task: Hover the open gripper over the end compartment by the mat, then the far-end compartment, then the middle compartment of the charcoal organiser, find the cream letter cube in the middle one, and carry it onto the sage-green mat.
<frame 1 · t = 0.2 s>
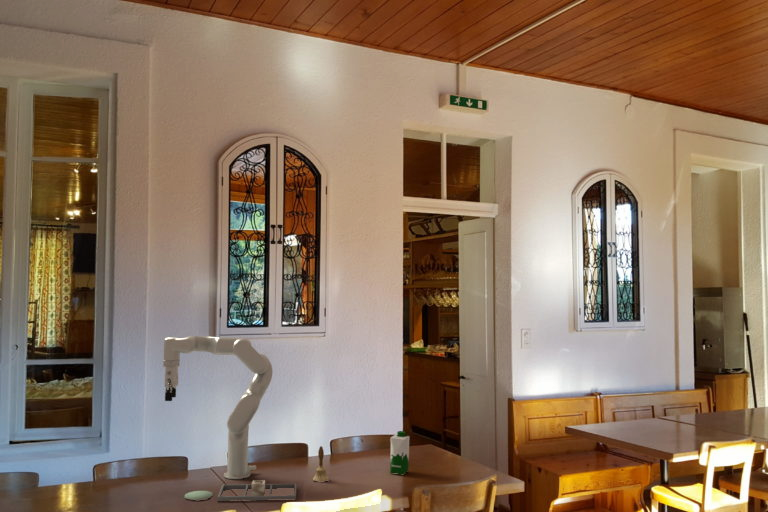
hand: (170, 399, 334), 37 cm above the table, tool pointing down, fingers open, 9 cm apart
milk carton: (399, 473, 348), on the table
hand bell: (320, 480, 333), on the table
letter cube: (258, 494, 307), resting on organiser
mat: (198, 496, 305), on the table
organiser: (258, 495, 307), on the table
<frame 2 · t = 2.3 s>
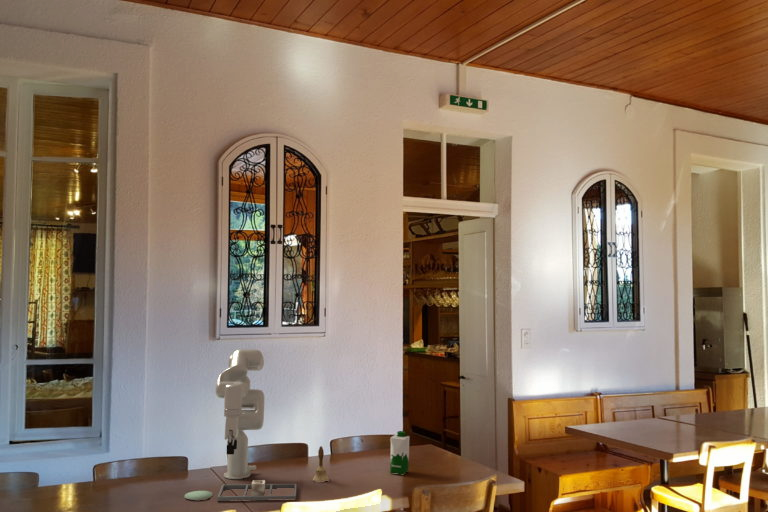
hand: (231, 451, 307), 19 cm above the table, tool pointing down, fingers open, 9 cm apart
nothing on the table moved.
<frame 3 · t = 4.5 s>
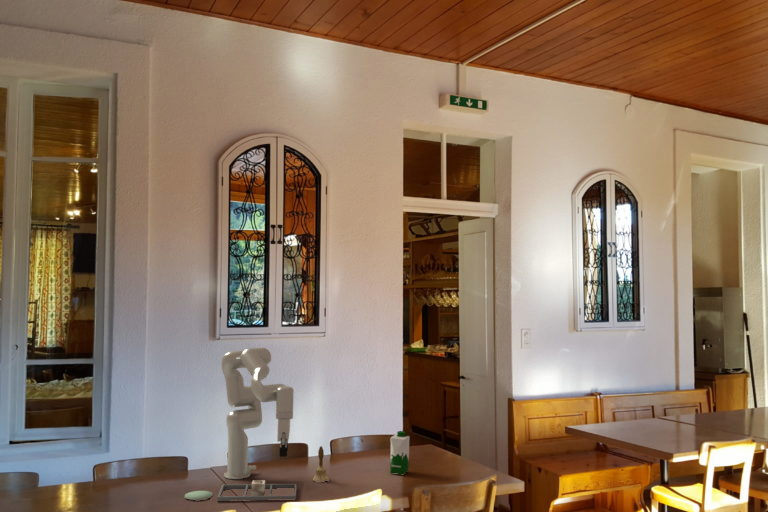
hand: (283, 453, 309), 18 cm above the table, tool pointing down, fingers open, 9 cm apart
nothing on the table moved.
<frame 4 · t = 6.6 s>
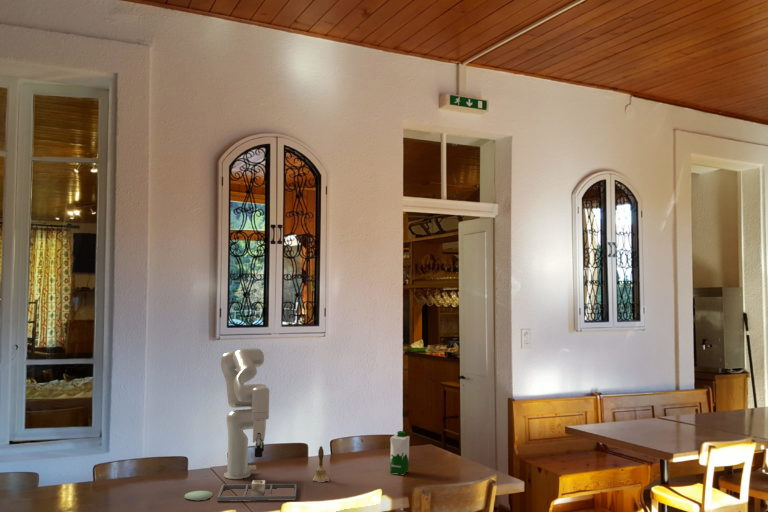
hand: (259, 454, 308), 18 cm above the table, tool pointing down, fingers open, 9 cm apart
nothing on the table moved.
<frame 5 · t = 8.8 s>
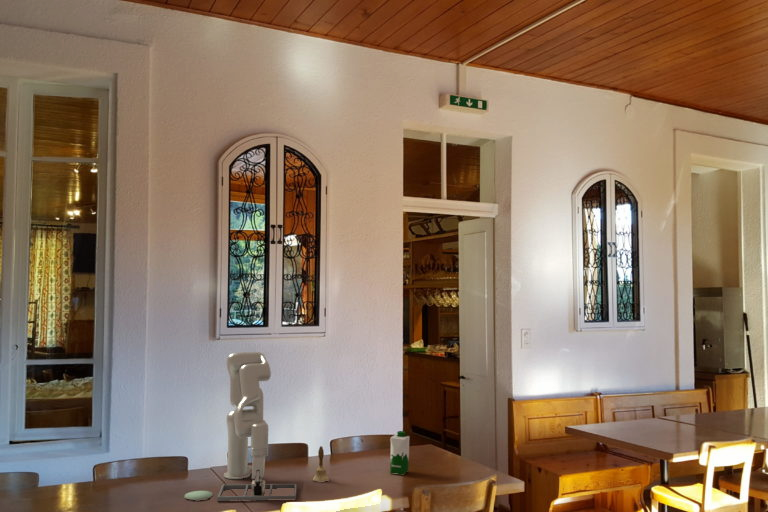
hand: (258, 492, 308), 2 cm above the table, tool pointing down, fingers closed on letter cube, 5 cm apart
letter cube: (258, 494, 307), resting on organiser, touching gripper
everything else where it was.
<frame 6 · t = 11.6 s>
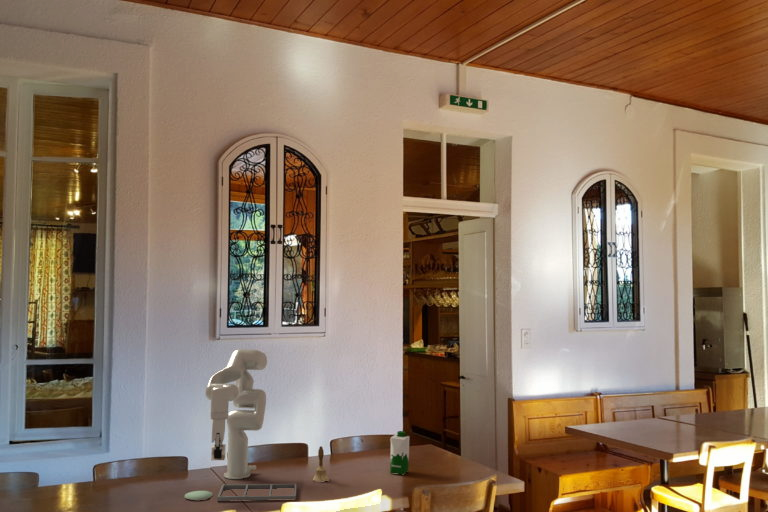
hand: (218, 456, 306), 18 cm above the table, tool pointing down, fingers closed on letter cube, 5 cm apart
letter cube: (218, 458, 306), point 16 cm above the table, touching gripper
everything else where it was.
when the fingers open (3 cm above the table, at t = 14.4 s): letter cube drops 1 cm, resting on mat.
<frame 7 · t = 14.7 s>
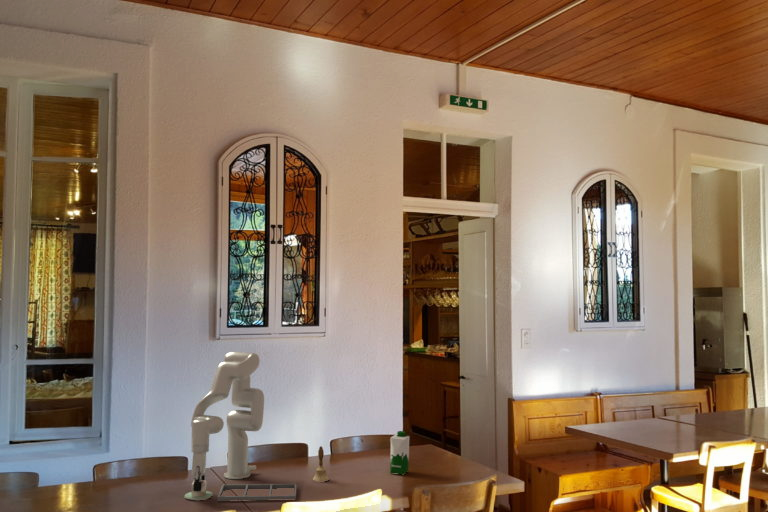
hand: (199, 487, 305), 4 cm above the table, tool pointing down, fingers open, 9 cm apart
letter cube: (198, 494, 305), point 1 cm above the table, touching mat
everything else where it was.
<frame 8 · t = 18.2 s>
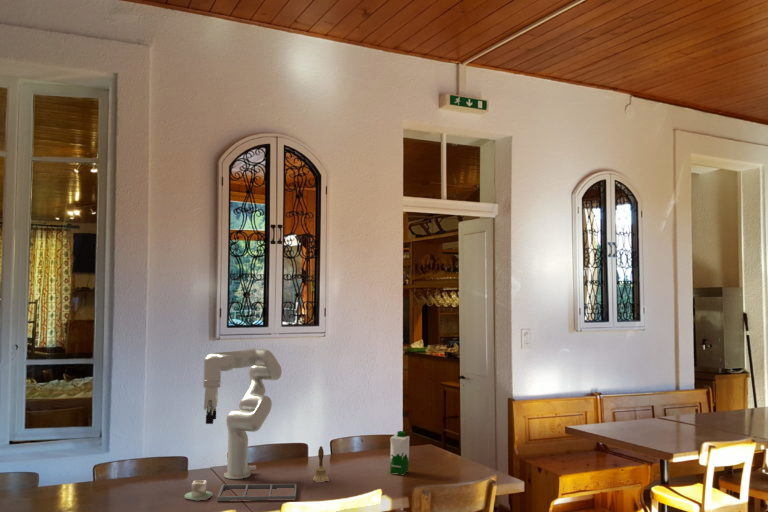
hand: (210, 421, 317), 30 cm above the table, tool pointing down, fingers open, 9 cm apart
nothing on the table moved.
at the end: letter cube inside the target area on the mat (0.1 cm from its centre), point 0.8 cm above the mat's base; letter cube tilted 0°; the gripper is holding nothing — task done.
